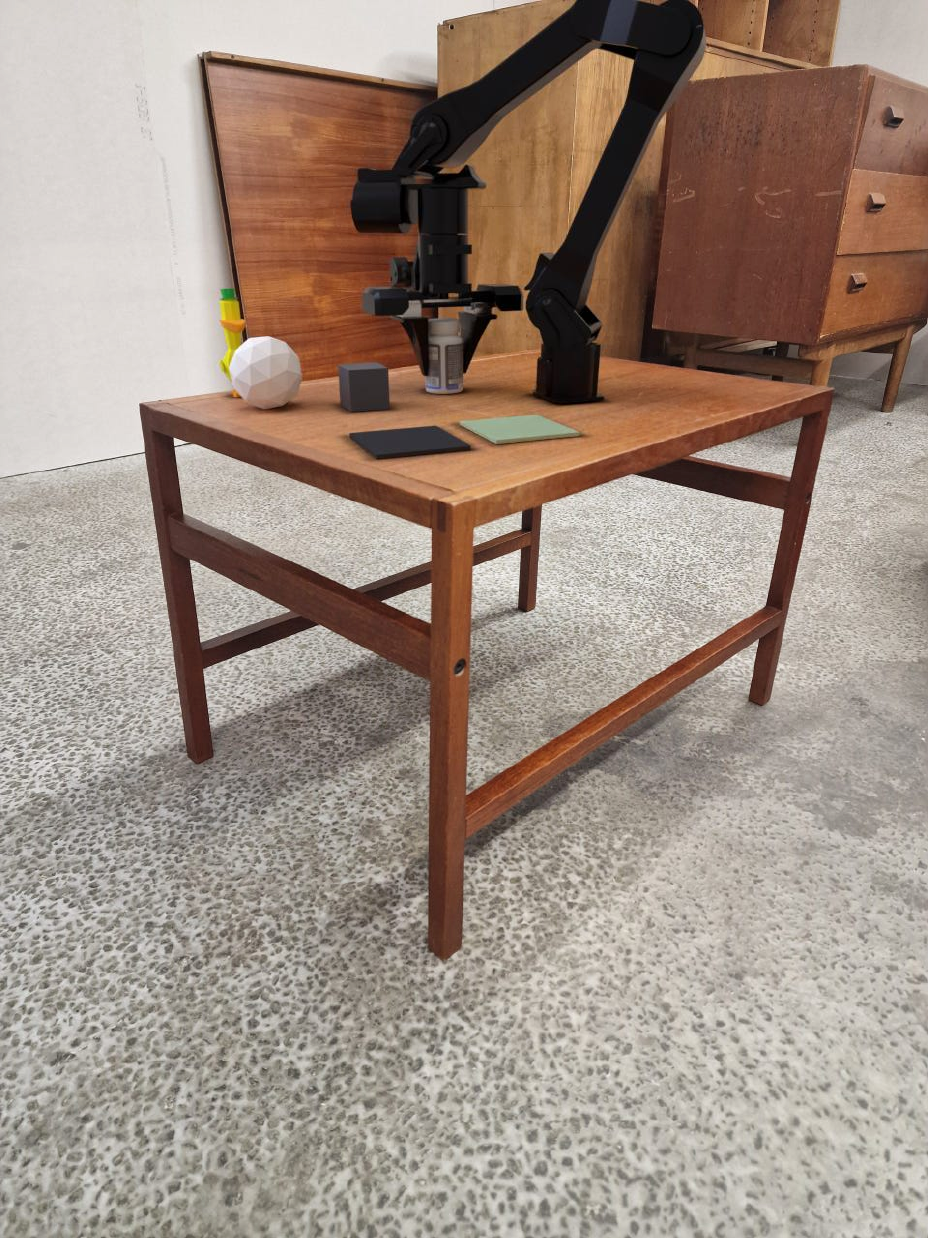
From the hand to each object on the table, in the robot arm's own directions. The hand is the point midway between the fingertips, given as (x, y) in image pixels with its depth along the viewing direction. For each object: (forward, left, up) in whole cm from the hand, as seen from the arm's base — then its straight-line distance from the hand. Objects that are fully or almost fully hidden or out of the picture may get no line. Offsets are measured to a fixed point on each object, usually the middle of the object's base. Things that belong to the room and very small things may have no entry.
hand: (444, 374), depth 99 cm
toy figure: (+24, -6, -2) cm, 25 cm away
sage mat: (+1, +23, -2) cm, 23 cm away
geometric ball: (+22, +2, -2) cm, 22 cm away
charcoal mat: (+13, +24, -2) cm, 27 cm away
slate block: (+12, +6, -2) cm, 14 cm away
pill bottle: (0, 0, -2) cm, 2 cm away
